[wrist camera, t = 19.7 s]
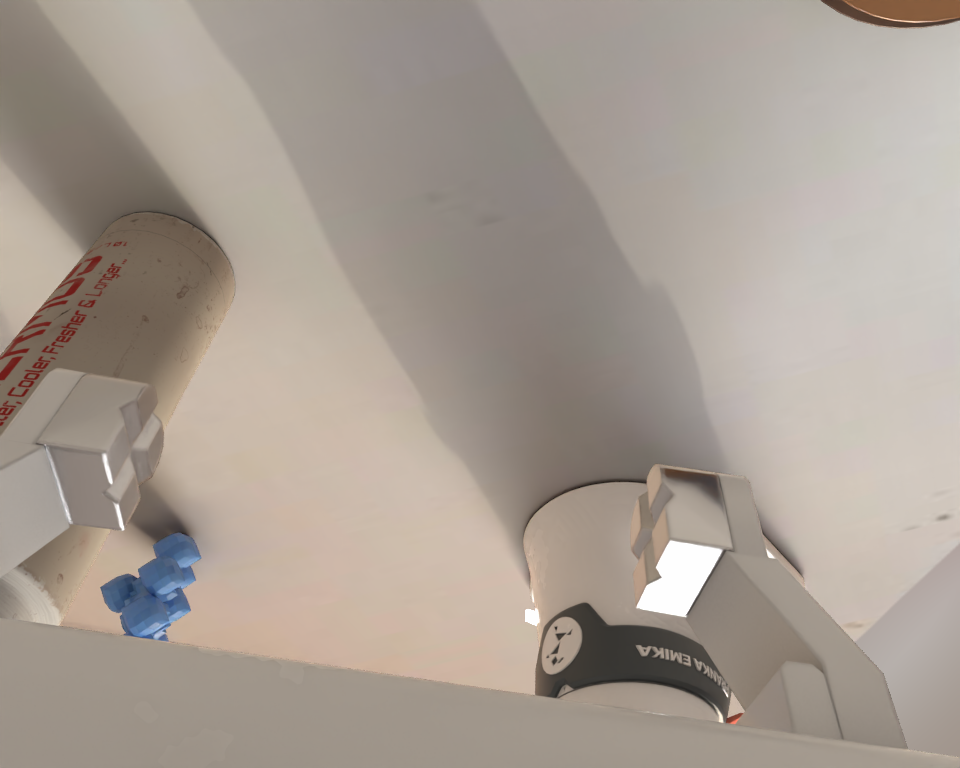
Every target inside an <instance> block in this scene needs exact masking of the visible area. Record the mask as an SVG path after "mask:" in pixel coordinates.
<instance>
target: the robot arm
mask: <svg viewBox="0 0 960 768" xmlns="http://www.w3.org/2000/svg"><path fill="white" fill-rule="evenodd" d="M158 402H159V401H158V396H157V392H156V387H155V386H153V385H151V384H148V383H142V382H137V381H131V380H126V379H120V378H115V377H110V376H104V375H99V374H93V373H84V372H79V371H73V370H68V369H63V368H56V369H54V370H52V371H50V372H49V373H48V374H47V375H46V376H45V378H44V379H43V380H42V381H41V383H40V384H39V385H38V387H37V388H36V389H35V391H34V392H33V393H32V395H31V396H30V397H29V399H28V400H27V401H26V403H25V404H24V405H23V407H22V408H21V409H20V411H19V412H18V413H17V415H16V416H15V417H14V419H13V420H12V421H11V423H10V424H9V425H8V427H7V428H6V429H5V431H4V432H3V433H2V434H1V436H0V578H1V577H2V576H4V575H5V574H6V573H8V572H9V571H11V570H12V569H13V568H15V567H16V566H17V565H19V564H20V563H21V562H23V561H24V560H26V559H27V558H28V557H30V556H31V555H32V554H34V553H35V552H36V551H38V550H39V549H41V548H42V547H43V546H45V545H46V544H47V543H49V542H50V541H51V540H53V539H54V538H56V537H57V536H58V535H60V534H61V533H62V532H64V531H65V530H66V529H68V528H69V527H70V525H69V524H73V525H81V526H89V527H97V528H105V529H113V530H121V531H124V530H125V528H126V526H127V524H128V522H129V520H130V518H131V517H132V515H133V513H134V511H135V509H136V507H137V505H138V503H139V501H140V499H141V496H140V491H139V486H138V485H140V484H141V483H143V482H145V481H146V480H148V479H150V478H151V477H152V476H153V474H154V472H155V470H156V468H157V466H158V464H159V461H160V457H161V453H162V449H163V442H164V430H163V424H162V421H161V420H160V419H159V418H158V417H157V416H156V415H155V414H154V413H153V411H154V410H155V408H156V406H157V404H158ZM646 480H647V484H645V483H636V482H610V483H601V484H595V485H590V486H585V487H582V488H578V489H575V490H572V491H569V492H567V493H565V494H562V495H560V496H558V497H556V498H555V499H553V500H551V501H550V502H548V503H547V504H545V505H544V506H543V507H542V508H541V509H539V510H538V511H537V512H536V513H535V515H534V516H533V517H532V518H531V520H530V521H529V523H528V525H527V527H526V530H525V533H524V538H523V546H524V551H525V555H526V559H527V562H528V566H529V571H530V576H531V580H530V595H531V600H532V601H533V602H534V604H535V611H532V610H529V609H527V610H526V616H525V621H527V622H529V623H532V624H535V625H537V633H538V642H539V653H538V660H537V665H536V677H535V695H531V694H524V693H517V692H510V691H503V690H496V689H489V688H482V687H475V686H468V685H461V684H454V683H448V682H441V681H434V680H427V679H420V678H413V677H406V676H399V675H392V674H385V673H378V672H372V671H365V670H358V669H351V668H344V667H337V666H331V665H324V664H317V663H310V662H303V661H297V660H290V659H283V658H276V657H269V656H262V655H256V654H249V653H242V652H235V651H228V650H221V649H215V648H208V647H201V646H194V645H187V644H180V643H173V642H167V641H160V640H153V639H146V638H139V637H132V636H125V635H119V634H112V633H105V632H98V631H91V630H84V629H77V628H71V627H64V626H57V625H50V624H43V623H36V622H29V621H23V620H16V619H9V618H2V617H0V768H960V757H956V756H949V755H942V754H935V753H929V752H922V751H915V750H908V747H907V744H906V741H905V738H904V735H903V732H902V729H901V726H900V723H899V719H898V716H897V714H896V710H895V707H894V704H893V701H892V698H891V695H890V692H889V689H888V686H887V683H886V680H885V677H884V674H883V673H882V671H881V670H880V669H879V668H878V667H877V666H876V665H875V664H874V663H873V662H872V661H871V660H870V658H869V657H868V656H867V655H866V654H865V653H864V652H863V651H862V650H861V649H860V648H859V647H858V646H857V644H856V643H855V642H854V641H853V640H852V639H851V638H850V637H849V636H848V635H847V634H846V633H845V632H844V630H843V629H842V628H841V627H840V626H839V625H838V624H837V623H836V622H835V621H834V620H833V619H832V618H831V616H830V615H829V614H828V613H827V612H826V611H825V610H824V609H823V608H822V607H821V606H820V605H819V604H818V602H817V601H816V600H815V599H814V598H813V597H812V596H811V595H810V594H809V593H808V592H807V591H806V590H805V583H804V579H803V578H802V576H801V575H800V574H799V573H798V572H797V570H796V569H795V568H794V567H793V566H792V565H791V564H790V563H789V562H788V561H787V560H786V559H785V558H784V557H783V555H782V554H781V553H780V552H779V551H778V550H777V549H776V548H775V547H774V546H773V545H772V544H771V543H770V541H769V540H768V539H767V538H766V537H765V536H764V535H763V534H762V530H761V526H760V522H759V518H758V514H757V510H756V506H755V502H754V498H753V494H752V490H751V486H750V482H749V481H748V479H747V478H746V477H744V476H737V475H730V474H724V473H717V472H716V473H713V472H710V471H703V470H697V469H690V468H683V467H676V466H670V465H663V464H656V463H655V465H654V466H653V467H652V468H651V470H650V472H649V474H648V476H647V478H646ZM731 691H732V692H733V693H734V695H735V697H736V698H737V700H738V701H739V703H740V704H741V706H742V707H743V709H744V710H745V712H744V713H739V714H737V715H734V716H732V717H729V718H727V716H728V710H729V704H730V697H731Z"/></svg>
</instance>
